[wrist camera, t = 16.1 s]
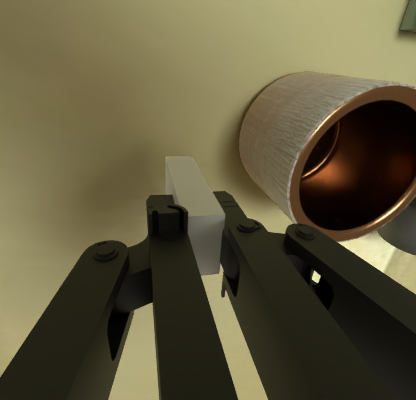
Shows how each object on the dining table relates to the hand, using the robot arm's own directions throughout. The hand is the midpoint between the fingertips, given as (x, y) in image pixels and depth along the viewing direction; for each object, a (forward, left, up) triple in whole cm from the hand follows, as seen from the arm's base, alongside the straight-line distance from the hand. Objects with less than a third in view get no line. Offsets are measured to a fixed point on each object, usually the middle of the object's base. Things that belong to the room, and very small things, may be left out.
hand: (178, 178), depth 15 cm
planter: (+12, 0, -9) cm, 15 cm away
